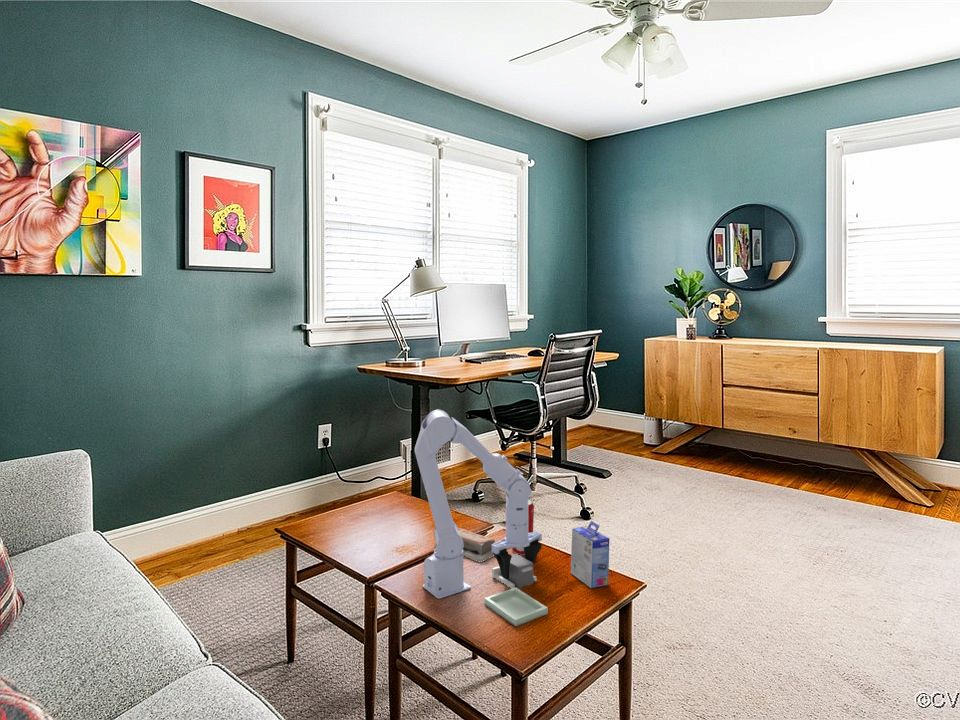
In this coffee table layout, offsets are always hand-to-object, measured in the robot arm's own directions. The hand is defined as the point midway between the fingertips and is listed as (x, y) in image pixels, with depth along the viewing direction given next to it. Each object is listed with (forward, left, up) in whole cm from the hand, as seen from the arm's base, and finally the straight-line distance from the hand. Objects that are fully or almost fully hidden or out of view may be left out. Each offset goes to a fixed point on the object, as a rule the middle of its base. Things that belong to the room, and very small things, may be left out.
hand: (517, 573), depth 154 cm
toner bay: (0, +1, -2) cm, 2 cm away
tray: (-9, -11, -2) cm, 14 cm away
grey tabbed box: (0, 0, -2) cm, 2 cm away
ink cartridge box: (+16, -10, -2) cm, 19 cm away
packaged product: (+1, +24, -2) cm, 24 cm away
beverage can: (+12, +13, -2) cm, 18 cm away
